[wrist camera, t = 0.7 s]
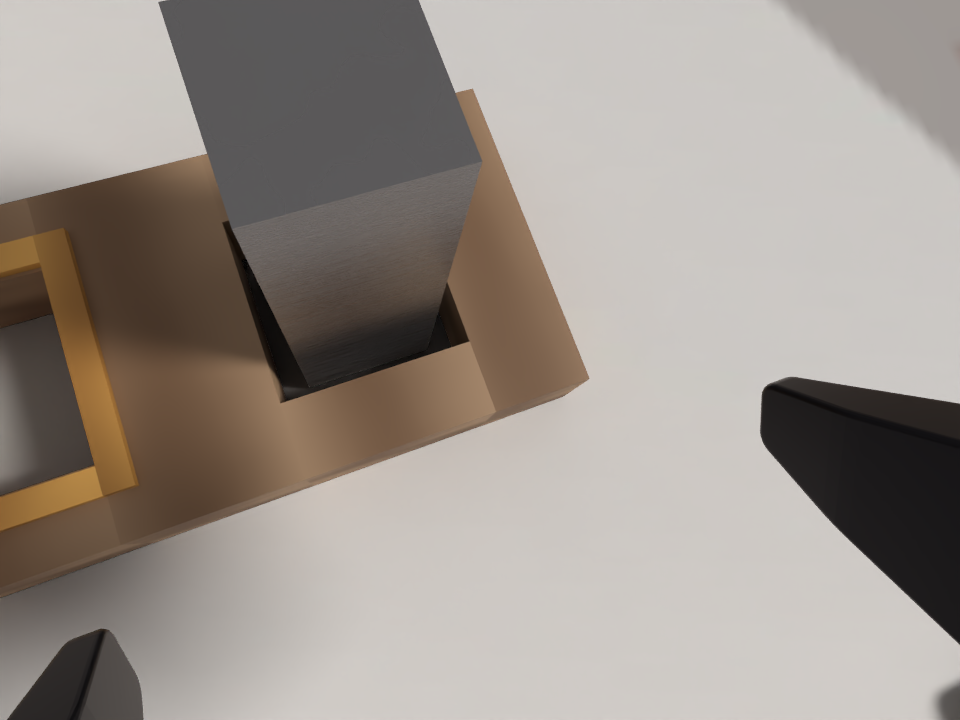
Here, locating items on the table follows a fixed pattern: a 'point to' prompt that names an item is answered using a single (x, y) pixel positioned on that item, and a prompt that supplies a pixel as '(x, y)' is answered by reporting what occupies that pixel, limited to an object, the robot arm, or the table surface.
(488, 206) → the wooden peg holder
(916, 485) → the robot arm
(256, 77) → the peg
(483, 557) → the table surface
